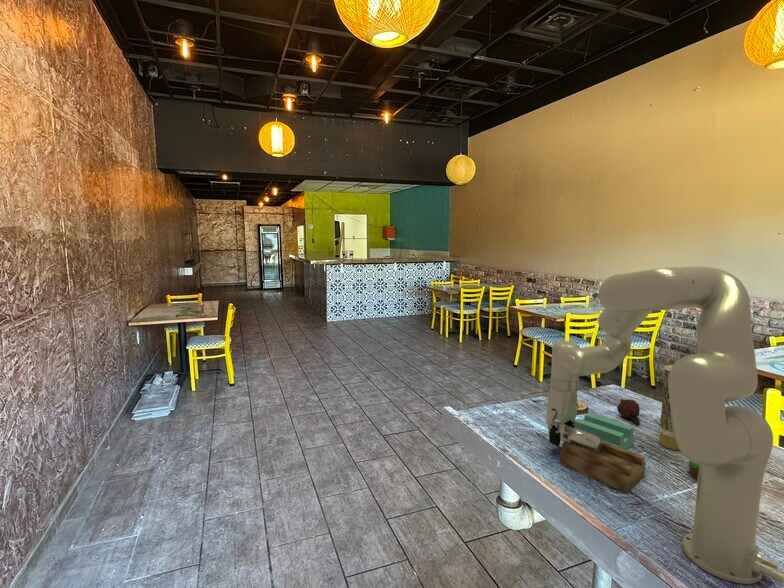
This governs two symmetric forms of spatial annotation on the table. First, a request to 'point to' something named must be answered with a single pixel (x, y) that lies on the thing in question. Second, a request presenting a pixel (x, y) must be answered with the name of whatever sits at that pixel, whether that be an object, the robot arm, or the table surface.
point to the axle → (580, 438)
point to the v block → (607, 430)
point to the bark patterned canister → (666, 416)
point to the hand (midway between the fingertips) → (561, 439)
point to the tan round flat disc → (581, 407)
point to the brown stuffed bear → (629, 410)
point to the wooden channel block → (605, 464)
